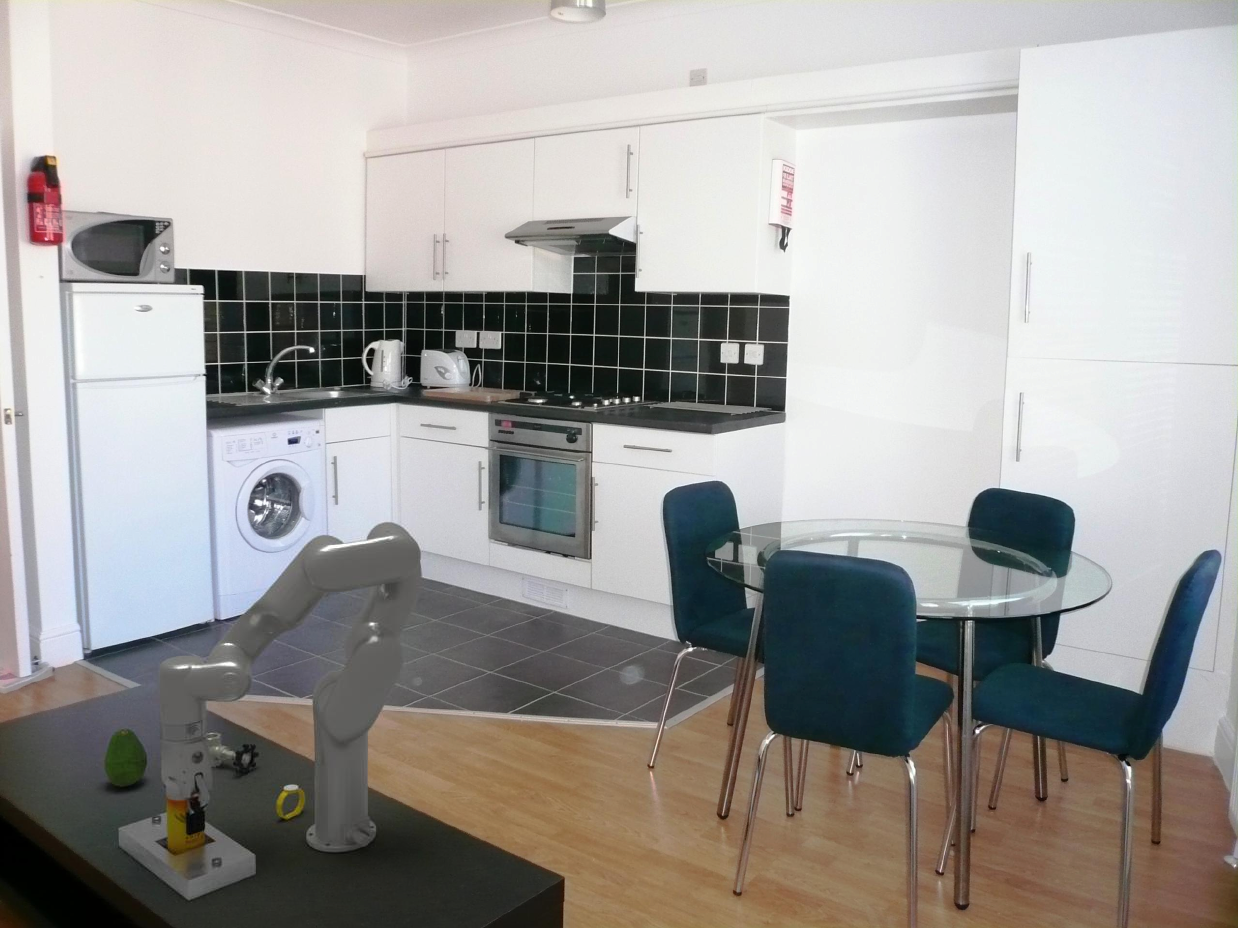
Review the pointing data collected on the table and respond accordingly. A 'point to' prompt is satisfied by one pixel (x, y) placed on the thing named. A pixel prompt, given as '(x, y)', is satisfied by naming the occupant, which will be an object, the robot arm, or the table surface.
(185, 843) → the beer can
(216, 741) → the valve
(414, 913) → the table surface
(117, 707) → the table surface
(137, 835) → the gray block with hole
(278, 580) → the robot arm
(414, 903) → the table surface
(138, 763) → the avocado
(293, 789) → the watch
